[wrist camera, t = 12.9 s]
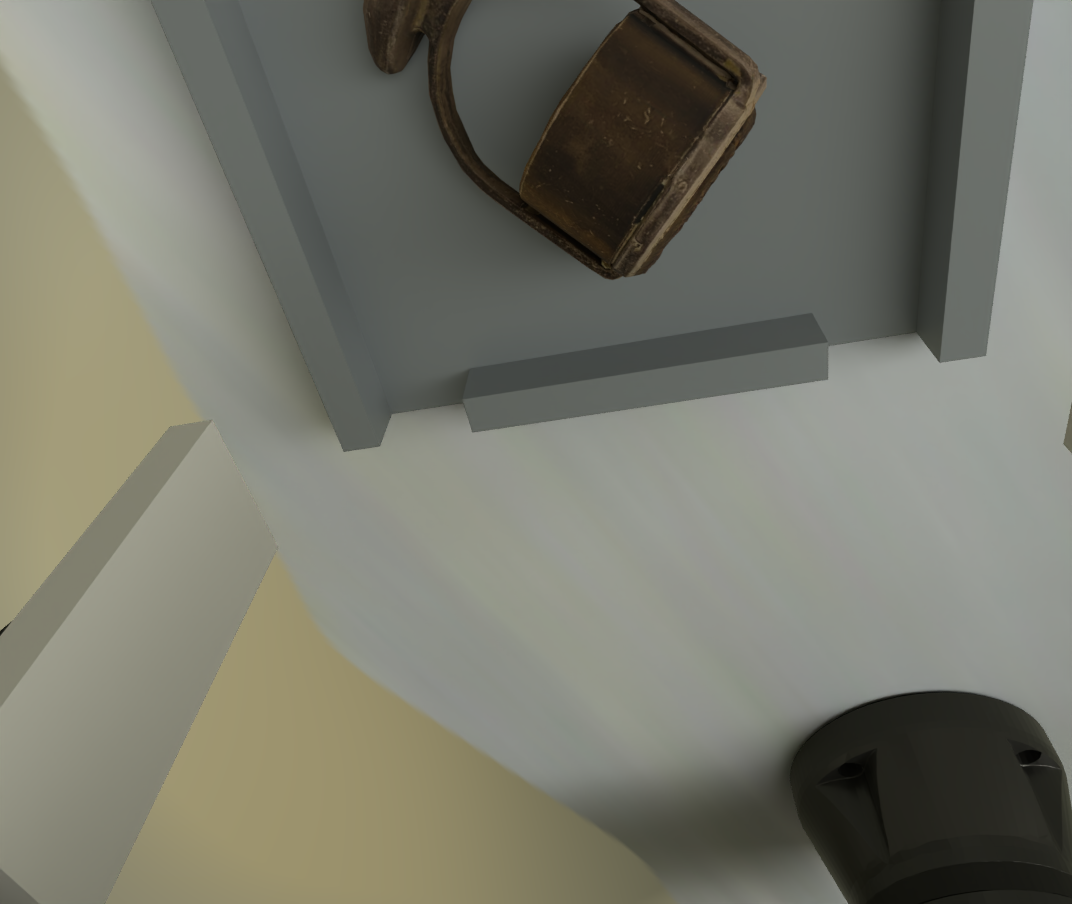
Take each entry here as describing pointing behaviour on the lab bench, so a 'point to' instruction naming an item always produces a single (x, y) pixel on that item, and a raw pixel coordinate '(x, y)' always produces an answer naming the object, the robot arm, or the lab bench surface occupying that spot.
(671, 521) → the lab bench surface
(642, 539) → the lab bench surface
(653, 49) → the bucket with arched handle
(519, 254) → the dock
